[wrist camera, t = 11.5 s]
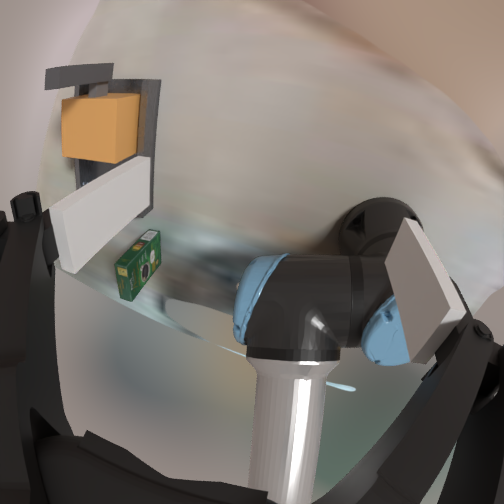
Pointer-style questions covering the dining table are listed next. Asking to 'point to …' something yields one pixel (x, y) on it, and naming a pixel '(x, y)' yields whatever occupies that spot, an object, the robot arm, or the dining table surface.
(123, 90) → the bay
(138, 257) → the coffee box
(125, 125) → the grey and orange block
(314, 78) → the dining table surface
